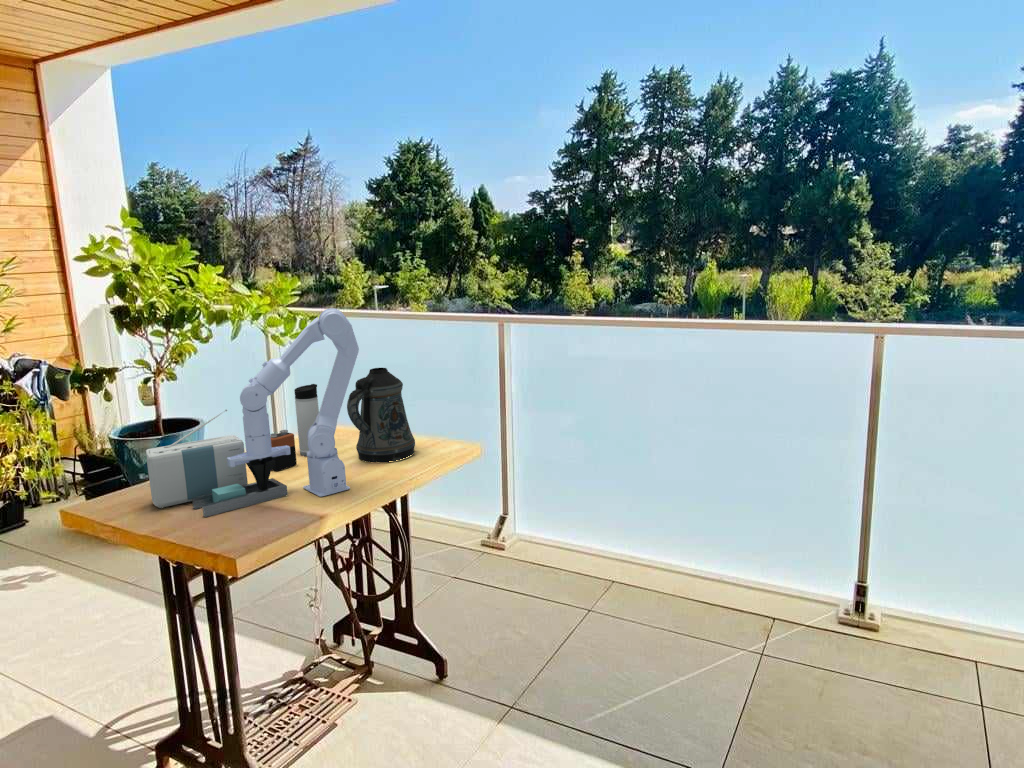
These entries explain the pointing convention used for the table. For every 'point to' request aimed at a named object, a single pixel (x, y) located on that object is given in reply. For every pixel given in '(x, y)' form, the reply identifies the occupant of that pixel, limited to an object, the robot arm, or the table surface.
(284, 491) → the chute
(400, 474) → the table surface
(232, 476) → the stereo radio cassette player
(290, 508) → the table surface
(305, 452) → the travel mug
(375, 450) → the beer stein
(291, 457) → the battery
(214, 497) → the block
